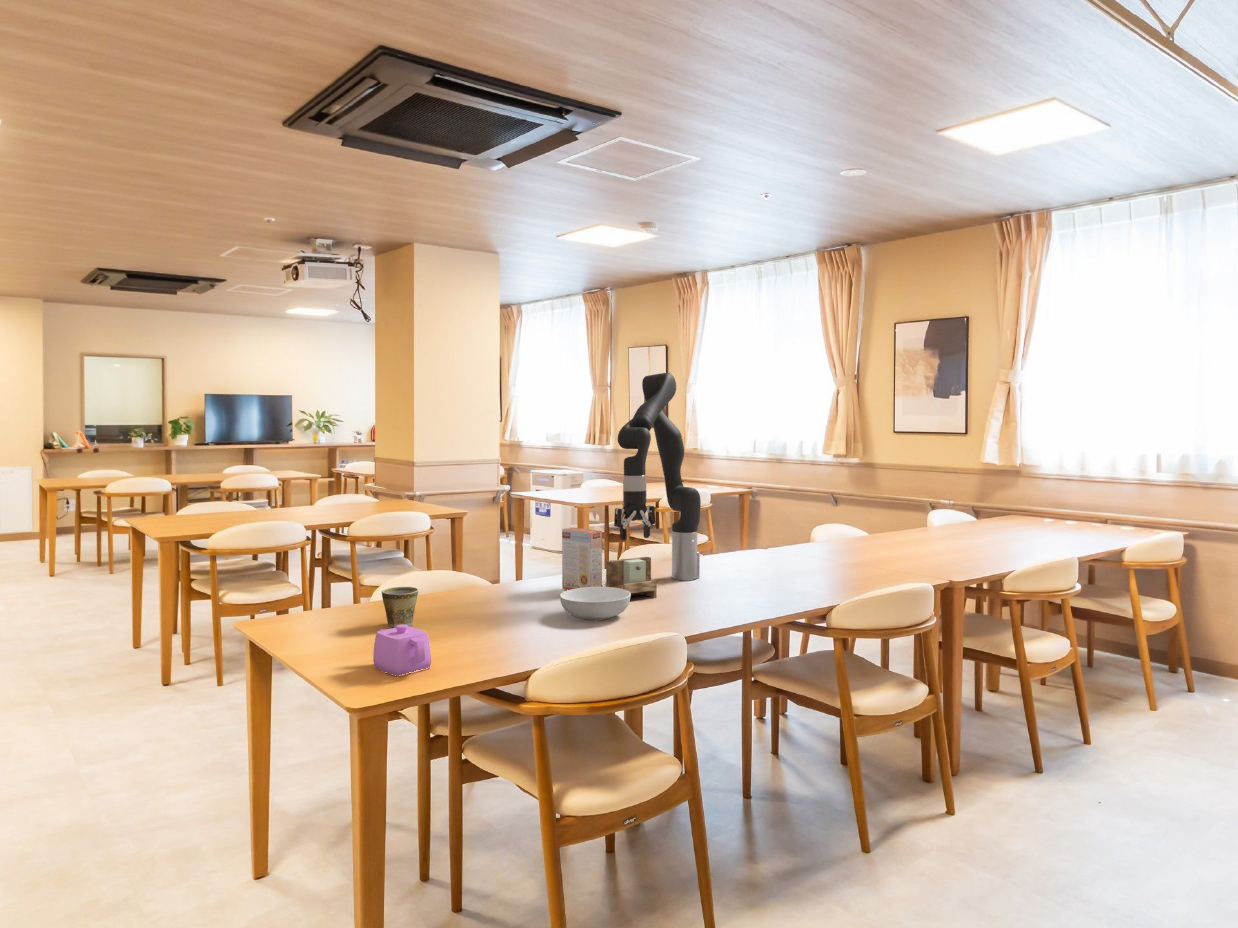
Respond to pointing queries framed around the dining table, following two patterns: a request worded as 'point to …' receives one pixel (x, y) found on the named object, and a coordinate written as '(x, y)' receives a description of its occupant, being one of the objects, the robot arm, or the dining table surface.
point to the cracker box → (581, 558)
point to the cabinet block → (634, 571)
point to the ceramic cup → (400, 605)
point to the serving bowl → (595, 602)
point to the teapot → (401, 650)
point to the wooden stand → (616, 581)
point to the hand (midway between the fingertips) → (635, 538)
